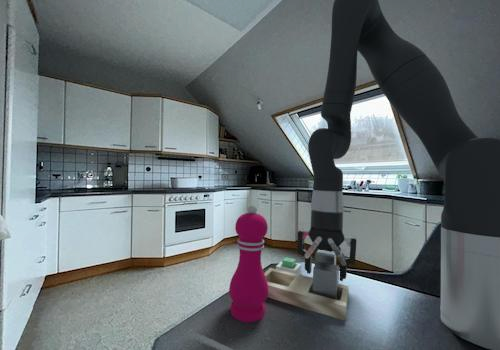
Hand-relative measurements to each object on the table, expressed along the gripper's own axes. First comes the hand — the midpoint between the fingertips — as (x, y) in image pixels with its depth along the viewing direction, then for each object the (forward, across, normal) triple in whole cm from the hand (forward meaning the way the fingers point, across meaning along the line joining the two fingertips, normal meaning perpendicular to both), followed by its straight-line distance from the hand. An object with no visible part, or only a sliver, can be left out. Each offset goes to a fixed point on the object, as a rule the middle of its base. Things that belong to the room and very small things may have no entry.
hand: (324, 275), depth 53 cm
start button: (0, +9, +1) cm, 9 cm away
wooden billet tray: (+2, +3, +10) cm, 11 cm away
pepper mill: (+2, +10, +21) cm, 23 cm away
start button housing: (+2, +9, +1) cm, 9 cm away
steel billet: (+1, 0, 0) cm, 1 cm away
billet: (+1, -2, +10) cm, 10 cm away
